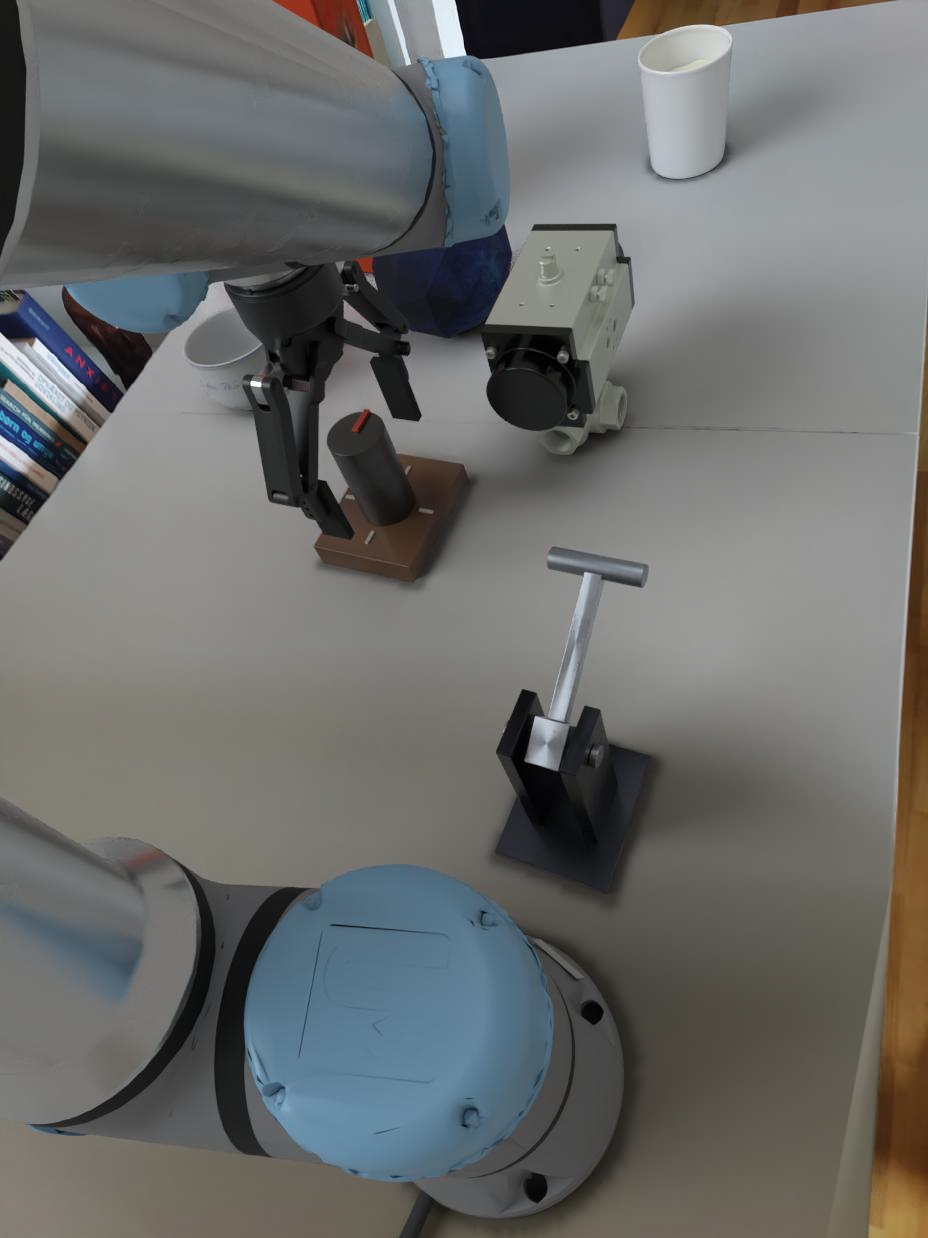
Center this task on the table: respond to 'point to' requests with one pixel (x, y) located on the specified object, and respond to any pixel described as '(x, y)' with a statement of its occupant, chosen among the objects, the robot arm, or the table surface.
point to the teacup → (224, 356)
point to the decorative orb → (446, 283)
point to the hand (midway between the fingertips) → (374, 473)
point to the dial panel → (399, 524)
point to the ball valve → (561, 334)
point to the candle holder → (686, 98)
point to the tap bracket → (569, 799)
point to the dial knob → (371, 467)
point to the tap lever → (576, 647)
